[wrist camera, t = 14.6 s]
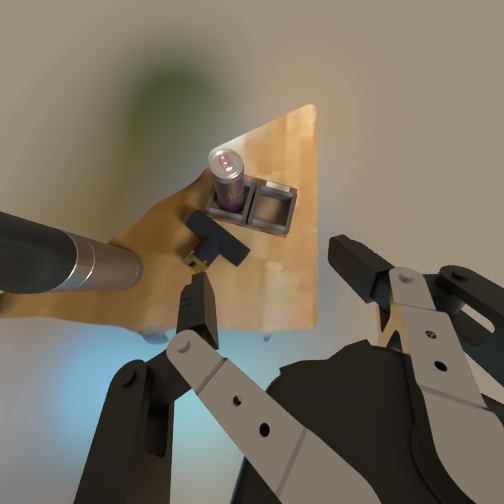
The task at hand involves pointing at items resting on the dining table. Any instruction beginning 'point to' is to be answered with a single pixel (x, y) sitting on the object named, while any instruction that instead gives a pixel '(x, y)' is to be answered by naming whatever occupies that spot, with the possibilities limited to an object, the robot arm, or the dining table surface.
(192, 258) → the pipe connector
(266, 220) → the socket board
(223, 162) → the beverage can
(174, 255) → the dining table surface
